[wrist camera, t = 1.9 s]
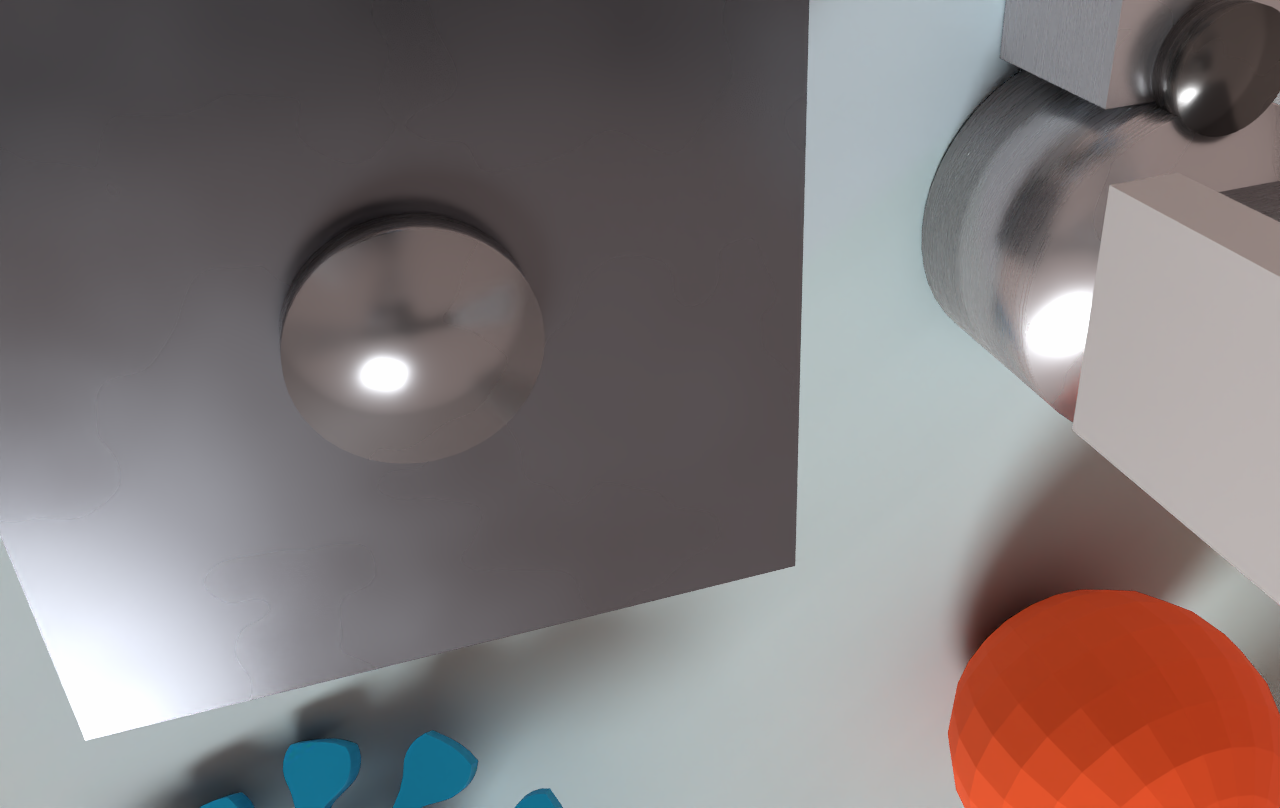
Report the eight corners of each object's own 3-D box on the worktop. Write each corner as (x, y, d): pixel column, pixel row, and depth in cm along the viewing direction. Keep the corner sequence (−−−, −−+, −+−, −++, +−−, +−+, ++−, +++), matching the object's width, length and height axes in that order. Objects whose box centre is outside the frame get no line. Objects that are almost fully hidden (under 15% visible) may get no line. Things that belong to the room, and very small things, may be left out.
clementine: (1197, 647, 32) (1423, 868, 26) (985, 806, 32) (1157, 1056, 27) (1087, 473, 27) (1331, 693, 21) (843, 663, 28) (1013, 927, 22)
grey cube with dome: (-56, -184, 15) (-267, -56, 8) (573, -235, 17) (833, -165, 10) (123, 375, 19) (82, 769, 12) (608, 285, 21) (809, 586, 14)
